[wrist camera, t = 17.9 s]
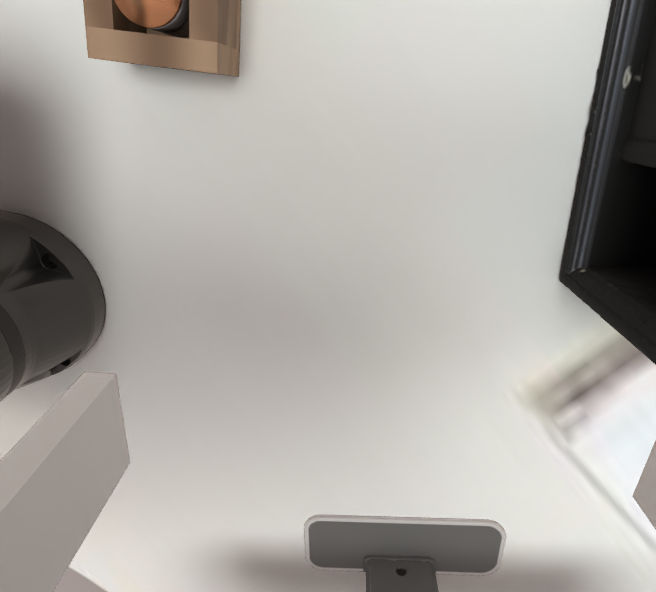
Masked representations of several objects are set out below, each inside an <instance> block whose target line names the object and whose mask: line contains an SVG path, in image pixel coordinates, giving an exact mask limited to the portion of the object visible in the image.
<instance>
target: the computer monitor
mask: <svg viewBox="0 0 656 592" xmlns="http://www.w3.org/2000/svg"><path fill="white" fill-rule="evenodd" d="M304 538H305V558H306V561H307V563H308V564H309V565H310V566H312V567H313V568H316V569H319V570H333V571H362V572H366V591H367V592H438V586H437V581H436V575H435V574H448V575H476V576H483V575H488V574H491V573H493V572H495V571H496V570H497V569H498V568H499V567H500V565H501V562H502V557H503V552H504V547H505V542H506V534H505V531H504V529H503V527H502V526H501V525H500V524H498V523H497V522H495V521H492V520H484V519H449V518H415V517H381V516H347V515H315V516H312V517H310V518H309V519H308V520H307V521H306V522H305V525H304Z"/></svg>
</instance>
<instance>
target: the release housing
mask: <svg viewBox="0 0 656 592" xmlns="http://www.w3.org/2000/svg"><path fill="white" fill-rule="evenodd" d="M83 3H84V14H85V26H86V38H87V50H88V58H95V59H102V60H110V61H117V62H125V63H132V64H140V65H148V66H156V67H165V68H173V69H181V70H189V71H197V72H205V73H214V74H222V75H230V76H238V77H239V52H240V20H241V0H189V35H187V36H182V37H176V36H171V35H168V34H165V33H162V32H159V31H156V30H153V29H150V28H146V27H143V26H140V25H138V24H136V23H134V22H132V21H131V20H129V19H128V18H127V17H126V16H125V15H124V14H123V13H122V12H121V11H120V9H119V8H118V6H117V5H116V3H115V0H83Z"/></svg>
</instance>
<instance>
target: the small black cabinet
mask: <svg viewBox="0 0 656 592" xmlns="http://www.w3.org/2000/svg"><path fill="white" fill-rule="evenodd" d="M581 160H582V162H581V167H580V172H579V177H578V183H577V190H576V194H575V199H574V204H573V209H572V214H571V220H570V225H569V230H568V236H567V241H566V246H565V251H564V257H563V262H562V269H561V274H560V281H561V282H562V283H563V284H564V285H565V286H566V287H568V288H569V289H570V290H571V291H572V292H573V293H574V294H575V295H577V296H578V297H579V298H580V299H582V301H583V302H585V303H586V304H587V305H588V306H590V308H592V309H593V310H594V311H595V312H596V313H598V314H599V315H600V316H601V317H602V318H603V319H604V320H605V321H606V322H607V323H609V324H610V325H611V326H612V327H613V328H614V329H616V330H617V331H618V332H619V333H620V334H621V335H623V336H624V337H625V338H626V339H627V340H628V341H629V342H631V343H632V344H633V345H634V346H635V347H636V348H637V349H638V350H640V351H641V352H642V353H643V354H644V355H645V356H647V357H648V358H649V359H650V360H651V361H652V362H653V363H655V364H656V0H612V5H611V10H610V15H609V20H608V25H607V31H606V37H605V42H604V47H603V53H602V58H601V64H600V68H599V70H598V79H597V84H596V90H595V94H594V100H593V105H592V110H591V116H590V121H589V126H588V129H587V132H586V141H585V146H584V151H583V157H582V159H581Z"/></svg>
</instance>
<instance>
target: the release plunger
mask: <svg viewBox="0 0 656 592" xmlns="http://www.w3.org/2000/svg"><path fill="white" fill-rule="evenodd" d="M115 3H116V5H117V6H118V8H119V9H120V11H121V12H122V13H123V14H124V15H125V16H126V17H127V18H128V19H129V20H131V21H132V22H134V23H136V24H138V25H140V26H143V27H146V28H150V29H153V30H156V31H159V32H162V33H165V34H168V35H171V36H176V37H182V36H187V35H189V0H115Z"/></svg>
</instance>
